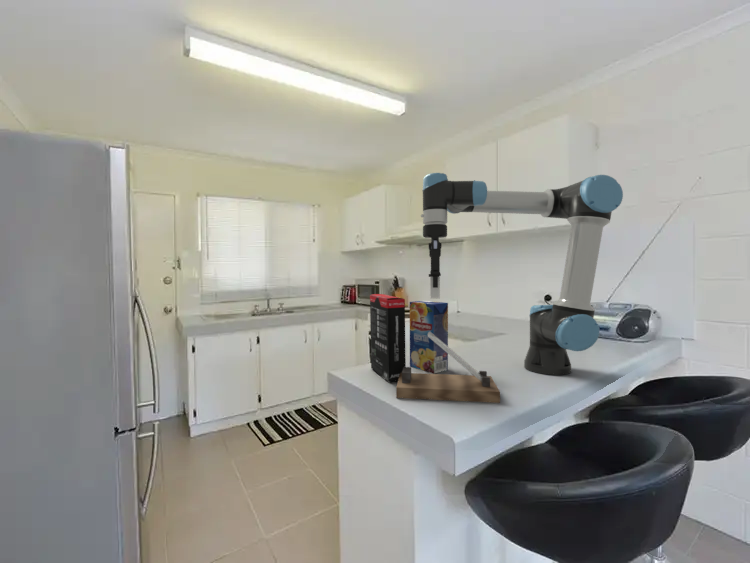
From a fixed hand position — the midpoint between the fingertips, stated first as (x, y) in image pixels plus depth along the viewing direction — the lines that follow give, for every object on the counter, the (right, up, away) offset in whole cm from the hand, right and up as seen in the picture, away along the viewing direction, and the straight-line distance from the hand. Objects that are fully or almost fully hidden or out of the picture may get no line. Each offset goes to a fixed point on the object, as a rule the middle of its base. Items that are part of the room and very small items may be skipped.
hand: (434, 297), depth 112 cm
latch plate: (+2, -28, -7) cm, 29 cm away
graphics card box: (-15, -27, +9) cm, 32 cm away
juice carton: (+1, -27, +17) cm, 32 cm away
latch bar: (+5, -18, -8) cm, 20 cm away
